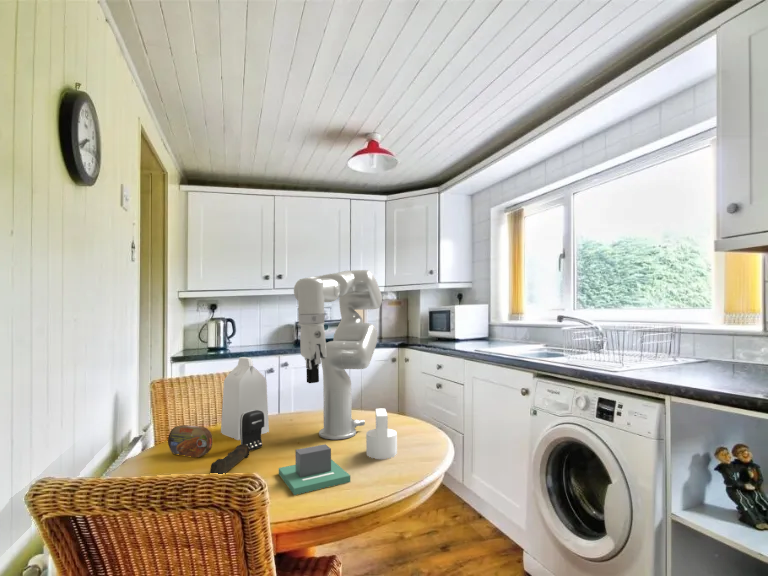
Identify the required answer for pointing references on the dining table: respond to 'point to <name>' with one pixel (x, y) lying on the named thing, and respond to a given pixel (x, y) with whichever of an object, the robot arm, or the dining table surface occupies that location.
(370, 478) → the dining table surface
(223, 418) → the milk
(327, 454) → the block
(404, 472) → the dining table surface
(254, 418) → the black battery charger
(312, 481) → the header board
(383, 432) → the base with upright slab
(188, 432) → the tin
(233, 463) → the hand tool
